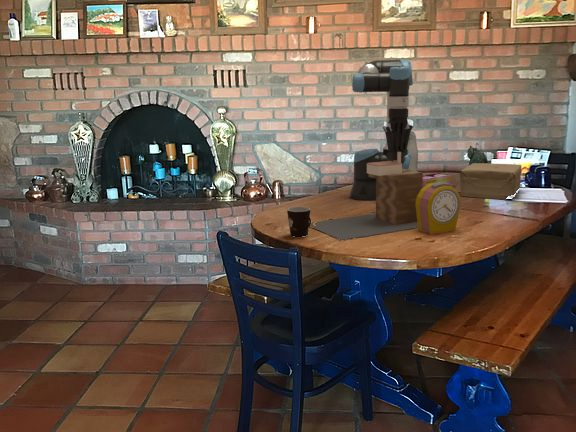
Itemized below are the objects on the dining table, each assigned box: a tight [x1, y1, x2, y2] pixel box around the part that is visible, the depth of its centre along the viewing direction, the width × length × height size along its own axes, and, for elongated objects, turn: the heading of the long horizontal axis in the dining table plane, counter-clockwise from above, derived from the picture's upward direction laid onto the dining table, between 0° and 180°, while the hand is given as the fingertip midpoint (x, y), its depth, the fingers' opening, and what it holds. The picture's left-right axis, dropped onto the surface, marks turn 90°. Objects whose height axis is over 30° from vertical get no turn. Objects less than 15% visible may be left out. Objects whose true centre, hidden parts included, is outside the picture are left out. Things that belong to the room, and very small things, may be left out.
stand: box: [368, 169, 423, 225], centre depth 228 cm, size 14×16×20 cm
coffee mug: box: [286, 206, 312, 238], centre depth 208 cm, size 12×9×10 cm
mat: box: [310, 212, 418, 241], centre depth 225 cm, size 28×44×1 cm, turn 117°
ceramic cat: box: [466, 142, 489, 166], centre depth 323 cm, size 20×6×20 cm, turn 6°
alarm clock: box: [415, 182, 462, 235], centre depth 213 cm, size 15×8×18 cm, turn 114°
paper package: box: [459, 163, 522, 201], centre depth 279 cm, size 27×26×14 cm
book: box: [367, 161, 402, 176], centre depth 222 cm, size 8×11×4 cm
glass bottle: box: [407, 130, 419, 172], centre depth 318 cm, size 10×10×28 cm
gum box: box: [422, 172, 452, 188], centre depth 255 cm, size 24×8×14 cm, turn 125°
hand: (397, 168), depth 225 cm, fingers closed
